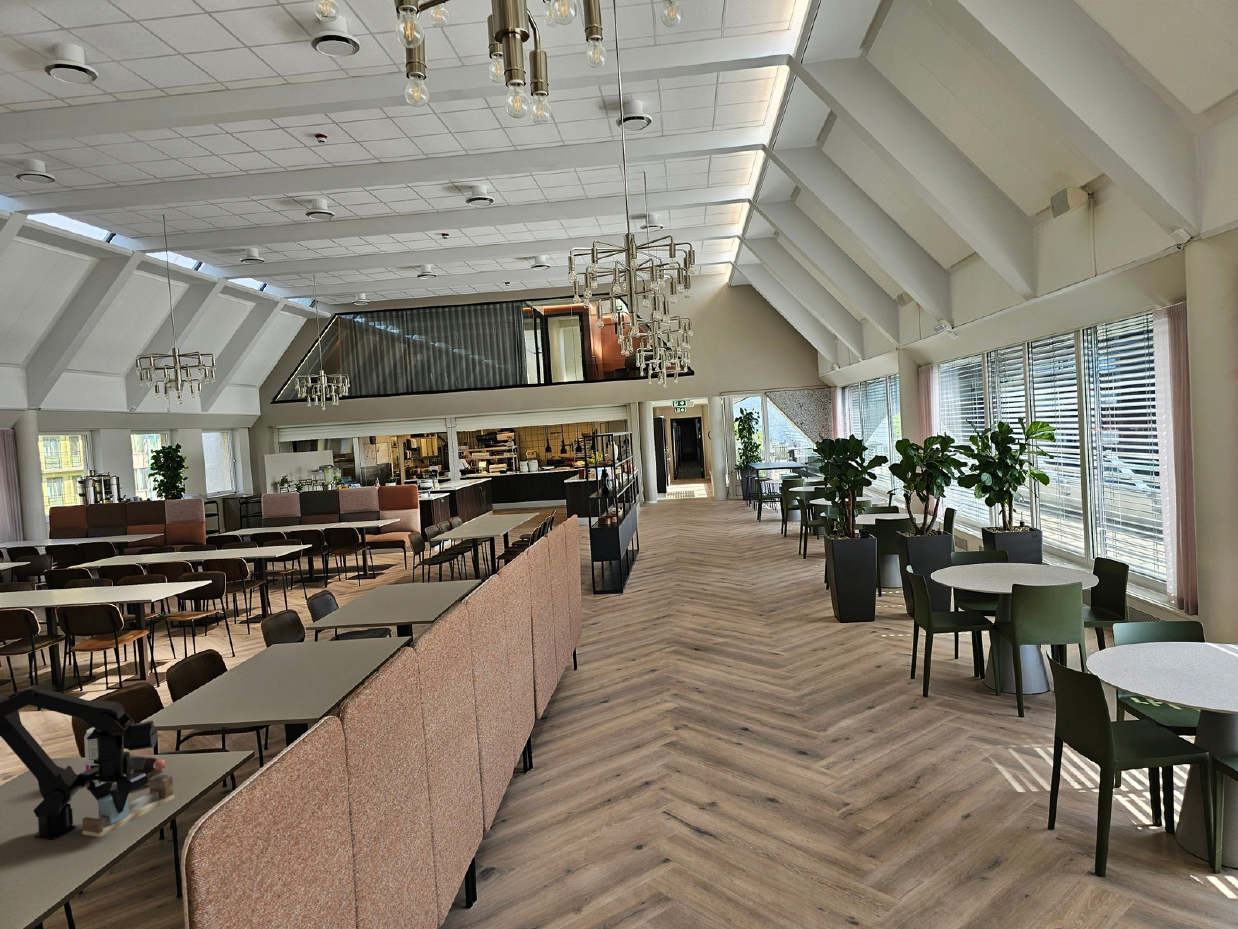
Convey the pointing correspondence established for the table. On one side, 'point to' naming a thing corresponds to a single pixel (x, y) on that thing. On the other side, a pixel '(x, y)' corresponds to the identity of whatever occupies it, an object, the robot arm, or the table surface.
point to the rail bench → (130, 817)
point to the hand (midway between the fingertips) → (113, 811)
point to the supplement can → (90, 750)
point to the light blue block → (111, 809)
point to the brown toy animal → (147, 768)
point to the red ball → (160, 764)
